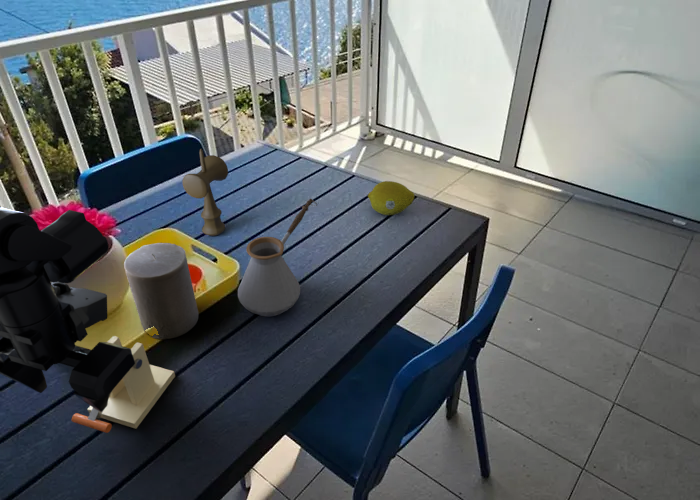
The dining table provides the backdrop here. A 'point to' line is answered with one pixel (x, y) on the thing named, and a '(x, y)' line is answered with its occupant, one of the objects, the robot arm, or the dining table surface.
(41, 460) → the dining table surface
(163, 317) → the pillar candle
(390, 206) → the lemon
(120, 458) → the dining table surface
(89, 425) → the lever
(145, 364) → the bracket
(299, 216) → the coffee pot
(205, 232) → the kendama
